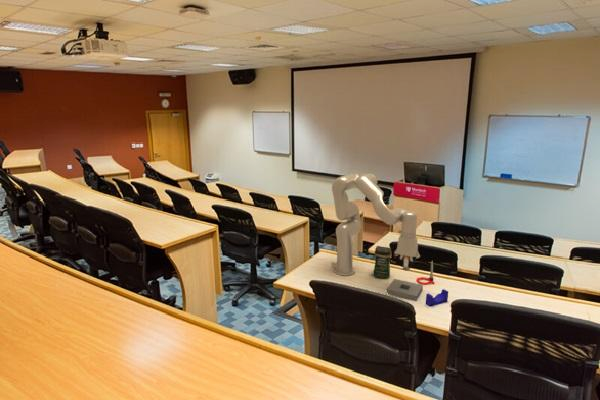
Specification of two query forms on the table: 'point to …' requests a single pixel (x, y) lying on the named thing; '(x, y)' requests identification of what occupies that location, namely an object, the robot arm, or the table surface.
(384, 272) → the coffee jar
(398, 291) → the hitch plate
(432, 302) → the cable clip
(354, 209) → the robot arm
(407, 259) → the orange and cream cylinder
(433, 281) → the tow hook
